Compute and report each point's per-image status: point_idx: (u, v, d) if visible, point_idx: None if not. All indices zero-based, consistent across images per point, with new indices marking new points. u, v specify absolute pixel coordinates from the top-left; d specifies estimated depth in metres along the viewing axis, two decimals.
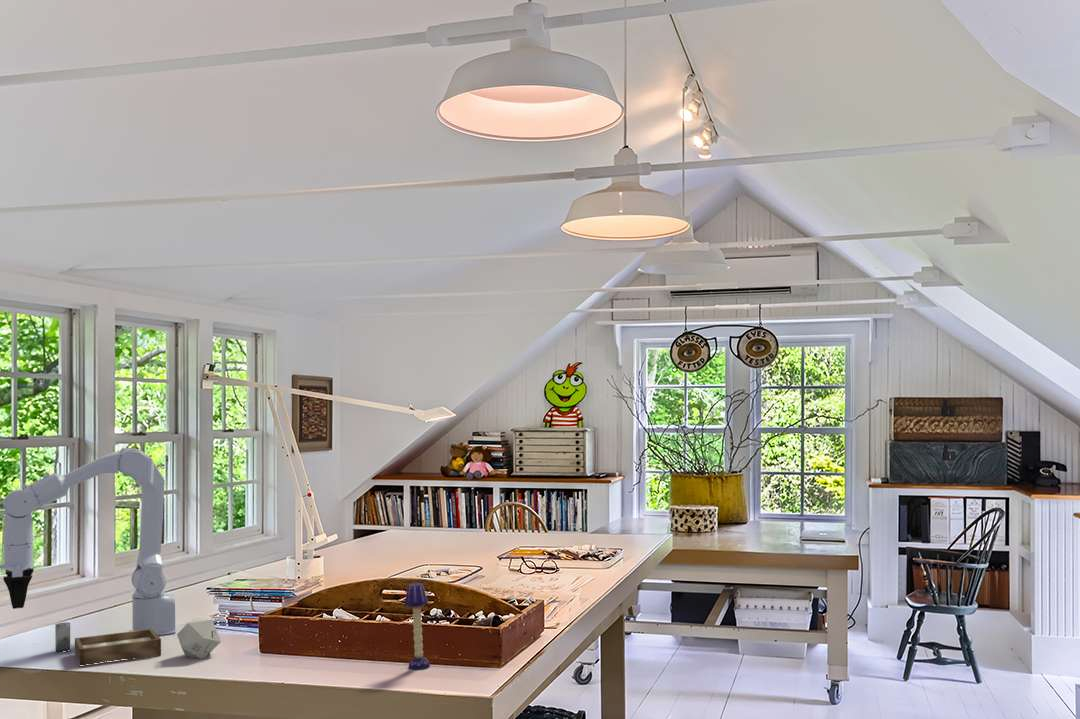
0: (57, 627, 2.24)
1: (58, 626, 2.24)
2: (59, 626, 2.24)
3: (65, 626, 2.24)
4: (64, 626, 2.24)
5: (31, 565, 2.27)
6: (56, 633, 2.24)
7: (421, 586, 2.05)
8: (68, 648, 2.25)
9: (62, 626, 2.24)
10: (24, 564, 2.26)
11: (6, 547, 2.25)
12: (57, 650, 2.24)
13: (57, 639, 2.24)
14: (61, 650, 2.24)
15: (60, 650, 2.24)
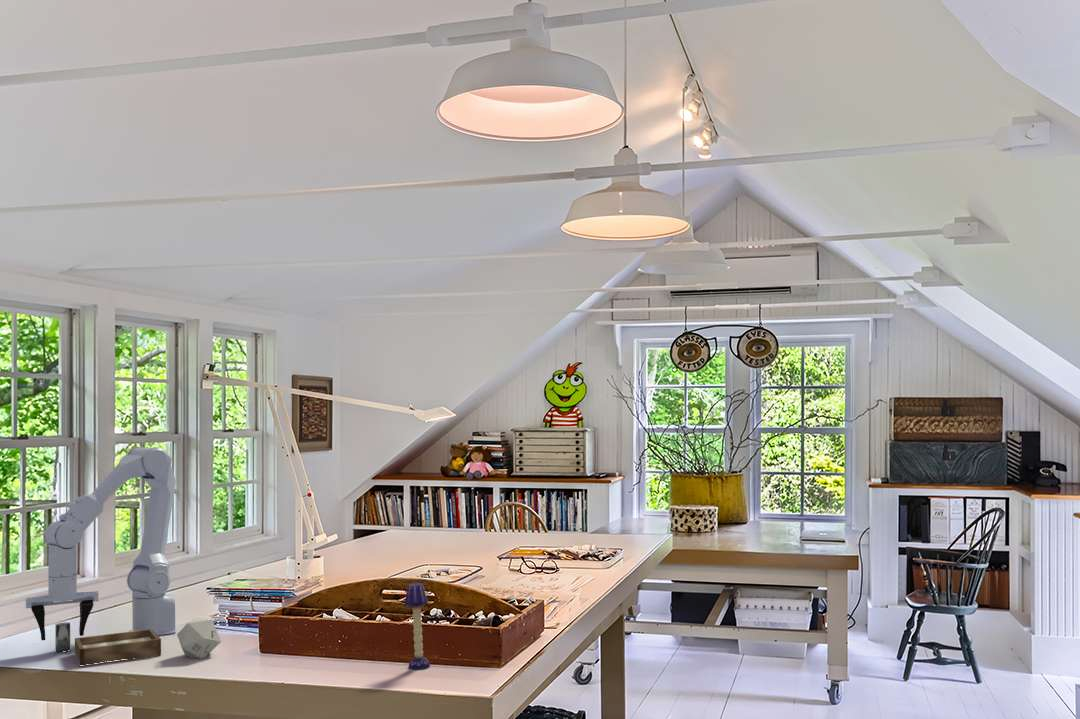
0: (57, 627, 2.24)
1: (58, 626, 2.24)
2: (59, 626, 2.24)
3: (65, 626, 2.24)
4: (64, 626, 2.24)
5: (54, 599, 2.22)
6: (56, 633, 2.24)
7: (421, 586, 2.05)
8: (68, 648, 2.25)
9: (62, 626, 2.24)
10: (50, 597, 2.23)
11: None
12: (57, 650, 2.24)
13: (57, 639, 2.24)
14: (61, 650, 2.24)
15: (60, 650, 2.24)
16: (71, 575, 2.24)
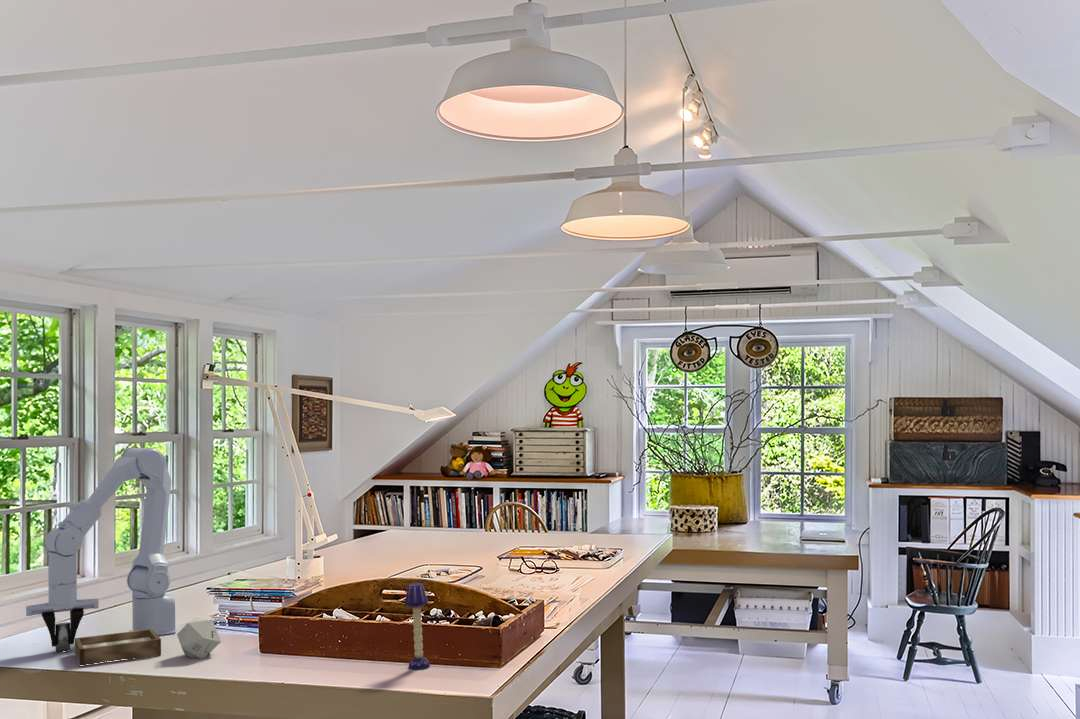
0: (57, 627, 2.24)
1: (58, 626, 2.24)
2: (59, 626, 2.24)
3: (65, 626, 2.24)
4: (64, 626, 2.24)
5: (54, 607, 2.22)
6: (56, 633, 2.24)
7: (421, 586, 2.05)
8: (68, 648, 2.25)
9: (62, 626, 2.24)
10: (50, 604, 2.23)
11: None
12: (57, 650, 2.24)
13: (57, 639, 2.24)
14: (61, 650, 2.24)
15: (60, 650, 2.24)
16: (71, 583, 2.24)
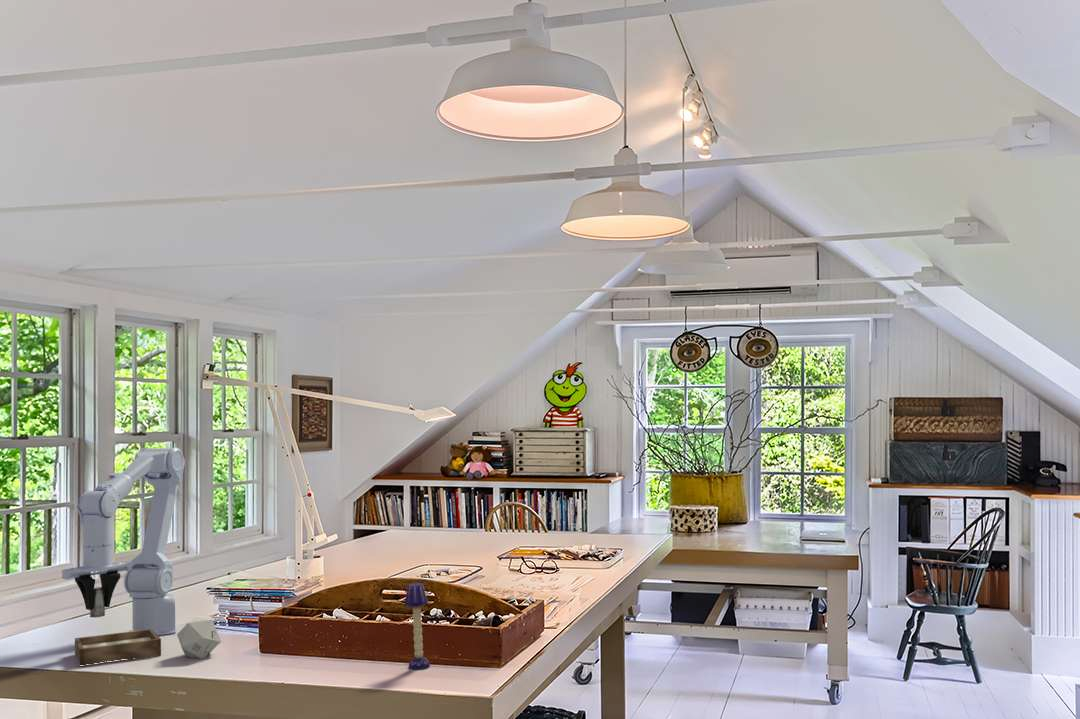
0: (94, 591, 2.21)
1: (95, 590, 2.21)
2: (97, 590, 2.21)
3: (102, 590, 2.22)
4: (101, 590, 2.22)
5: (94, 569, 2.20)
6: (93, 598, 2.21)
7: (421, 586, 2.05)
8: (104, 612, 2.23)
9: (100, 590, 2.22)
10: (88, 567, 2.20)
11: None
12: (94, 615, 2.21)
13: (94, 603, 2.21)
14: (99, 614, 2.21)
15: (98, 614, 2.21)
16: (109, 544, 2.23)
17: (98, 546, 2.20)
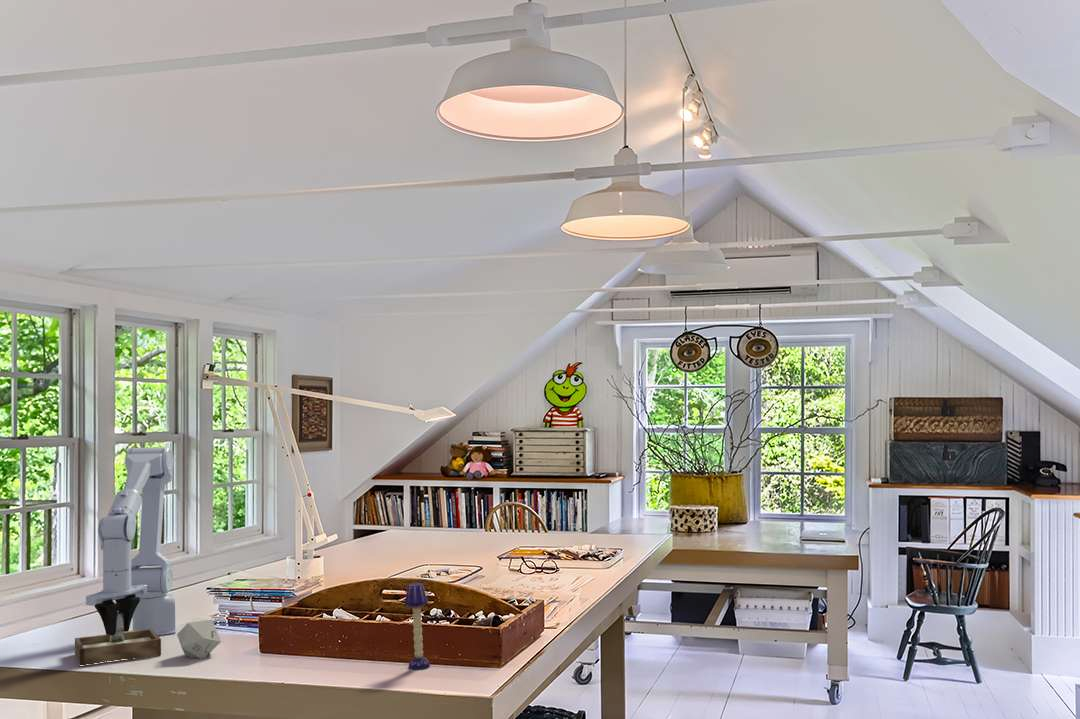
0: None
1: (117, 615, 2.19)
2: (118, 615, 2.20)
3: (123, 614, 2.21)
4: (122, 614, 2.20)
5: (118, 594, 2.18)
6: None
7: (421, 586, 2.05)
8: (124, 637, 2.21)
9: (121, 615, 2.20)
10: (111, 592, 2.18)
11: None
12: (116, 640, 2.19)
13: (116, 628, 2.19)
14: (120, 639, 2.20)
15: (120, 639, 2.20)
16: (130, 568, 2.21)
17: (122, 570, 2.19)
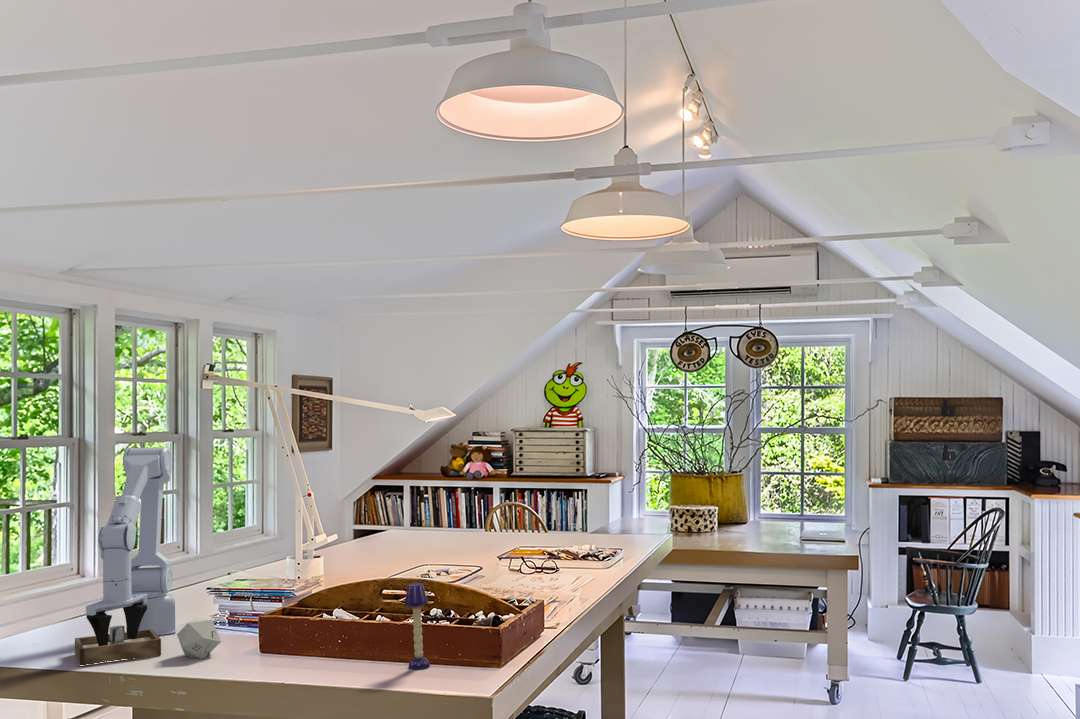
0: (116, 630, 2.19)
1: (117, 629, 2.19)
2: (119, 629, 2.20)
3: (123, 628, 2.21)
4: (123, 628, 2.20)
5: (118, 604, 2.18)
6: (115, 637, 2.19)
7: (421, 586, 2.05)
8: None
9: (121, 629, 2.20)
10: (111, 602, 2.18)
11: None
12: None
13: (116, 643, 2.19)
14: None
15: None
16: (130, 578, 2.21)
17: (122, 580, 2.19)
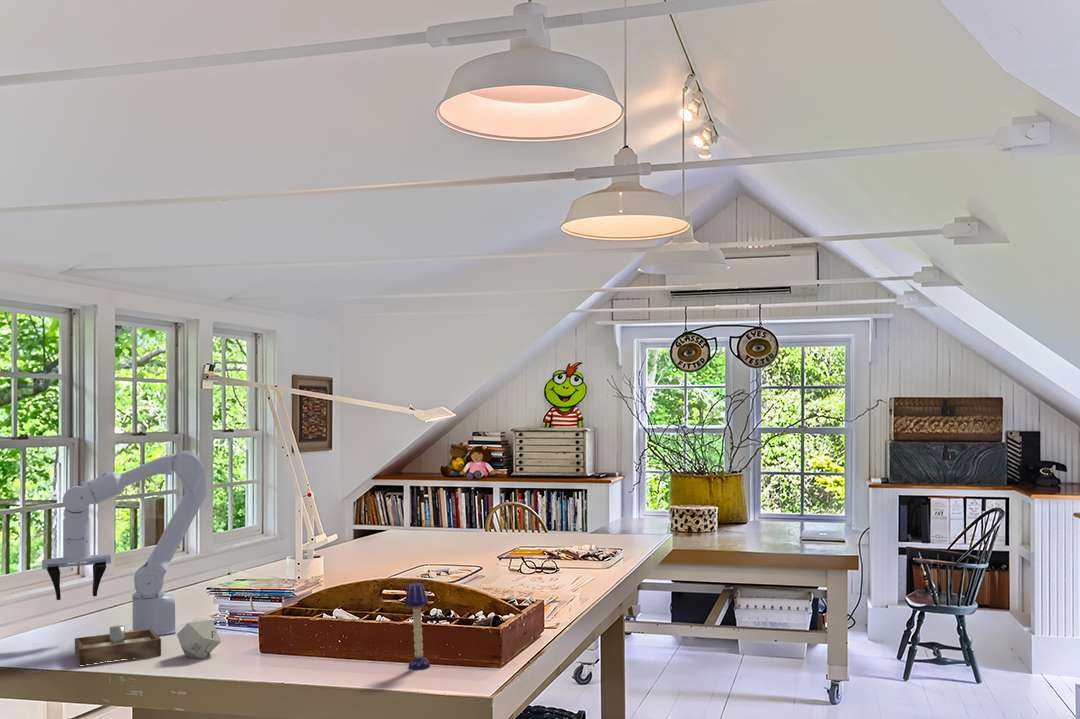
0: (116, 630, 2.19)
1: (117, 629, 2.19)
2: (119, 629, 2.20)
3: (123, 628, 2.21)
4: (123, 628, 2.20)
5: (69, 561, 2.32)
6: (115, 637, 2.19)
7: (421, 586, 2.05)
8: None
9: (121, 629, 2.20)
10: (64, 558, 2.33)
11: None
12: None
13: (116, 643, 2.19)
14: None
15: None
16: (85, 538, 2.34)
17: (73, 539, 2.33)
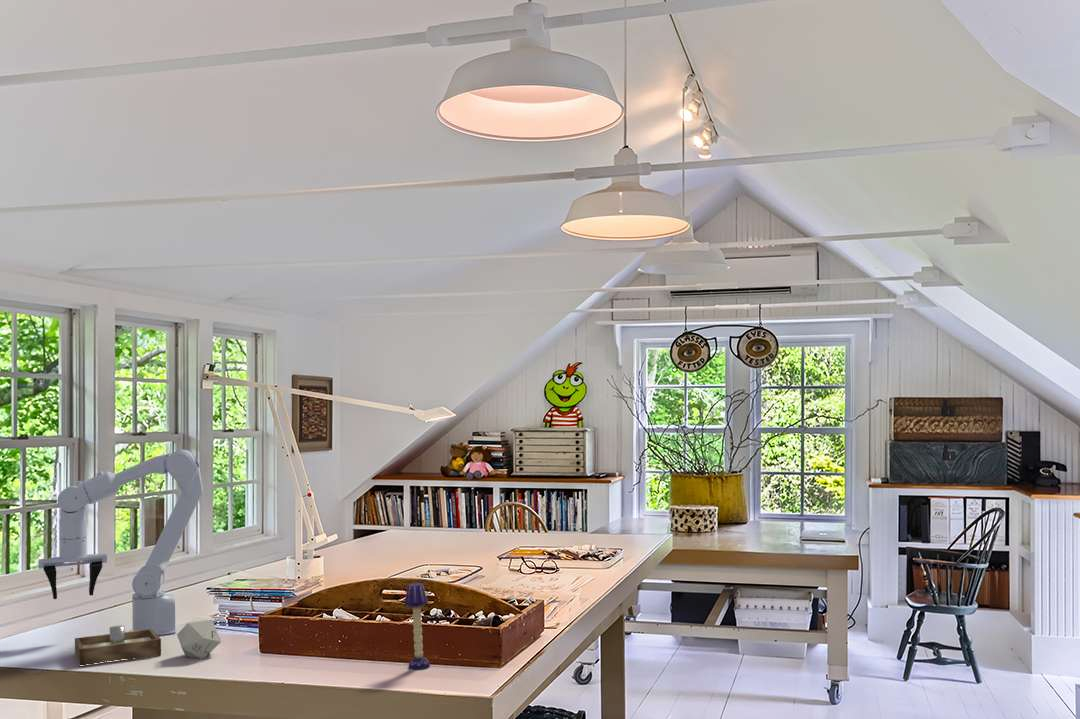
0: (116, 630, 2.19)
1: (117, 629, 2.19)
2: (119, 629, 2.20)
3: (123, 628, 2.21)
4: (123, 628, 2.20)
5: (65, 560, 2.34)
6: (115, 637, 2.19)
7: (421, 586, 2.05)
8: None
9: (121, 629, 2.20)
10: (61, 558, 2.34)
11: None
12: None
13: (116, 643, 2.19)
14: None
15: None
16: (81, 537, 2.36)
17: (69, 538, 2.34)
